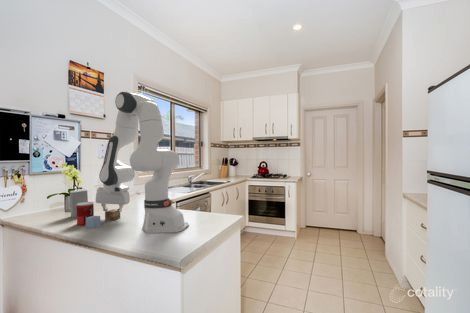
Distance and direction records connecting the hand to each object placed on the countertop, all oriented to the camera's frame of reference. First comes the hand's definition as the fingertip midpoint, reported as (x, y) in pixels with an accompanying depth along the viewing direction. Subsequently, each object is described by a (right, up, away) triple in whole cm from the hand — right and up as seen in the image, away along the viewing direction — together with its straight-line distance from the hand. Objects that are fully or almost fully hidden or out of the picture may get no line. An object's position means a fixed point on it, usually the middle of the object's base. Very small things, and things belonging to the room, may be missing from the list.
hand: (112, 211), depth 132 cm
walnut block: (0, -4, -1) cm, 4 cm away
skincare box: (-24, -5, +8) cm, 26 cm away
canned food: (-10, -5, -9) cm, 14 cm away
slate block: (-2, -4, -14) cm, 15 cm away
